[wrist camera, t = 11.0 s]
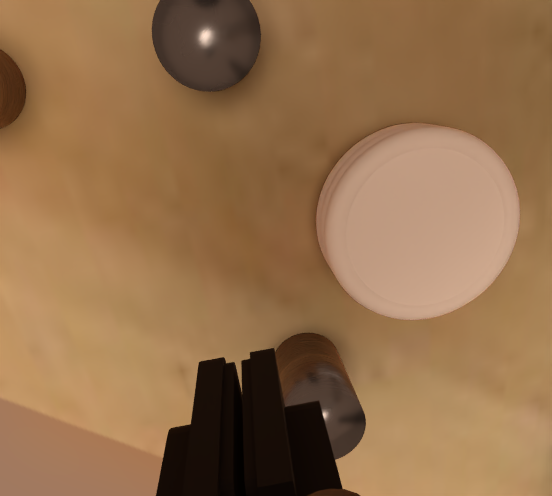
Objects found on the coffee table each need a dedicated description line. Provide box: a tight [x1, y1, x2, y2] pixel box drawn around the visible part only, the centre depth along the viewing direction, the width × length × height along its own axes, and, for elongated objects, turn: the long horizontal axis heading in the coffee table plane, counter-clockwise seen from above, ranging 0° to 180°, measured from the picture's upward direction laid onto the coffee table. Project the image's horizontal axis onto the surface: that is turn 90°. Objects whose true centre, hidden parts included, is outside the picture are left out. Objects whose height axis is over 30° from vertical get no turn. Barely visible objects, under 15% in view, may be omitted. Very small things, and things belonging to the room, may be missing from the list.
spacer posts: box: [0, 0, 366, 460], centre depth 24 cm, size 17×22×6 cm
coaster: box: [316, 123, 520, 320], centre depth 27 cm, size 10×10×4 cm
